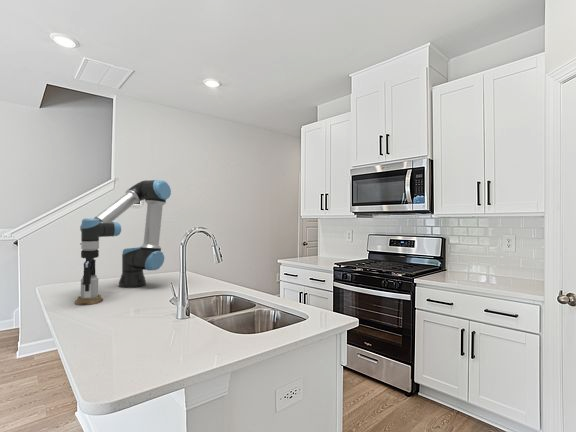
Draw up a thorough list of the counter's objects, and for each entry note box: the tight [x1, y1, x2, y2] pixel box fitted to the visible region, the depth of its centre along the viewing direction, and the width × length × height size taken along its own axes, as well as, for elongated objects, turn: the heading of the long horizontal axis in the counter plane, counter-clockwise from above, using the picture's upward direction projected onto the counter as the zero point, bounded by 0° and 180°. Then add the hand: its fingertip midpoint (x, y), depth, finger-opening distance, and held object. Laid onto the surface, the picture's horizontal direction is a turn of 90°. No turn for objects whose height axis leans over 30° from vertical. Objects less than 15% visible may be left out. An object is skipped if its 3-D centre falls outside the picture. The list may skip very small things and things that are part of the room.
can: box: [80, 274, 99, 299], centre depth 166 cm, size 8×8×12 cm
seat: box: [74, 293, 104, 306], centre depth 166 cm, size 12×12×3 cm
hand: (89, 295), depth 166 cm, fingers closed on can, 7 cm apart
